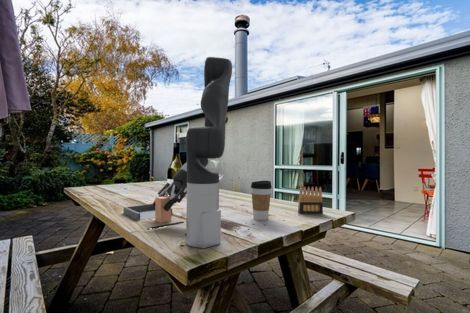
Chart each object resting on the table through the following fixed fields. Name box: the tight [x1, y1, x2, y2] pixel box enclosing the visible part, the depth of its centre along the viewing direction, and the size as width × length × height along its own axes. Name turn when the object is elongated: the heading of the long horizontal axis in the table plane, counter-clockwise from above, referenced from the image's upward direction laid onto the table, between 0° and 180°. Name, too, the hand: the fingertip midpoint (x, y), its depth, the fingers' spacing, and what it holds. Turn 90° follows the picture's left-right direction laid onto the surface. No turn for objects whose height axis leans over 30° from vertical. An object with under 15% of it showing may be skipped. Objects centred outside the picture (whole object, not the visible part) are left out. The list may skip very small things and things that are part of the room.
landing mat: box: [150, 221, 185, 230], centre depth 91 cm, size 9×12×1 cm
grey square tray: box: [123, 203, 173, 221], centre depth 101 cm, size 15×14×4 cm
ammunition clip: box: [297, 186, 324, 215], centre depth 110 cm, size 11×2×12 cm, turn 94°
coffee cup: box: [250, 180, 273, 221], centre depth 100 cm, size 8×8×15 cm
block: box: [154, 195, 172, 224], centre depth 91 cm, size 4×4×9 cm
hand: (159, 207), depth 90 cm, fingers open, 8 cm apart
